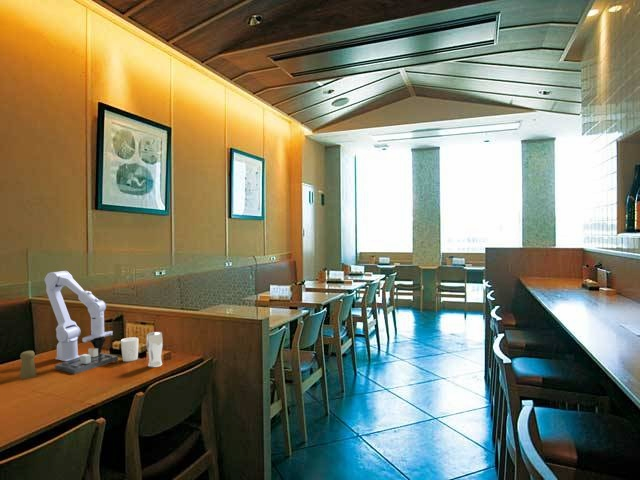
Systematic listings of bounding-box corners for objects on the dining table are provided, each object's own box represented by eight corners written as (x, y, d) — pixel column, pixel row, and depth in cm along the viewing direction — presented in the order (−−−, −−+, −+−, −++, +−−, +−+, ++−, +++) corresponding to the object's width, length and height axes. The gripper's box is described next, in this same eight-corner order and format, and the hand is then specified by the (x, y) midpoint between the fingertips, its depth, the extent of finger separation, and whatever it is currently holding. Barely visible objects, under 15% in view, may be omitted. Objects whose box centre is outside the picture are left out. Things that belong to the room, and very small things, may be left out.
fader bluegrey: (80, 362, 186) (80, 354, 186) (85, 361, 188) (85, 353, 188) (85, 364, 184) (85, 356, 184) (90, 362, 186) (90, 354, 186)
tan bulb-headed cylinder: (27, 379, 172) (26, 353, 172) (16, 378, 174) (15, 353, 173) (40, 374, 178) (39, 349, 178) (28, 373, 179) (28, 349, 179)
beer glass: (166, 363, 190) (165, 331, 190) (158, 368, 183) (157, 335, 183) (152, 362, 191) (151, 331, 191) (144, 367, 184) (143, 335, 184)
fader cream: (88, 355, 196) (88, 348, 196) (93, 354, 198) (93, 347, 198) (93, 357, 194) (93, 349, 194) (98, 355, 197) (98, 348, 196)
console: (55, 369, 184) (55, 363, 184) (98, 356, 203) (98, 350, 203) (74, 374, 177) (74, 367, 177) (117, 360, 196) (117, 354, 196)
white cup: (134, 361, 193) (133, 341, 193) (118, 362, 193) (117, 341, 193) (141, 356, 201) (141, 337, 201) (126, 357, 201) (125, 337, 201)
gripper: (88, 329, 190) (89, 358, 190) (116, 323, 203) (116, 349, 203) (79, 328, 193) (80, 356, 194) (107, 322, 206) (108, 348, 207)
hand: (98, 352), depth 199 cm, fingers closed
